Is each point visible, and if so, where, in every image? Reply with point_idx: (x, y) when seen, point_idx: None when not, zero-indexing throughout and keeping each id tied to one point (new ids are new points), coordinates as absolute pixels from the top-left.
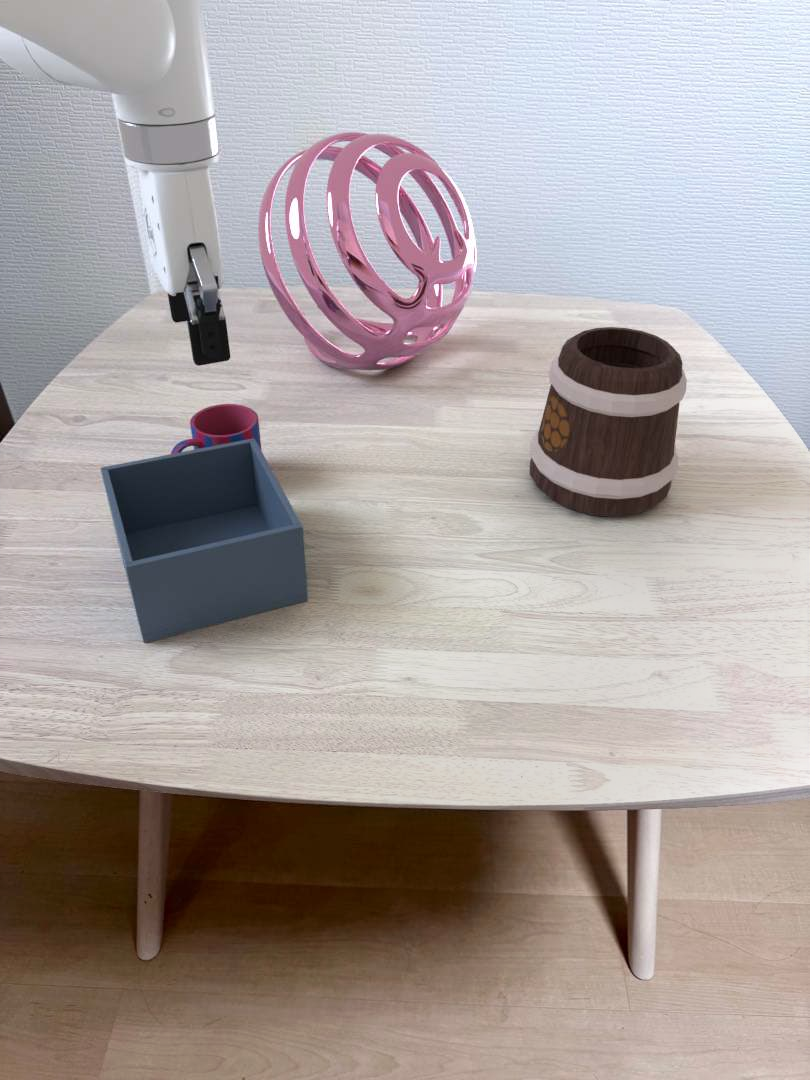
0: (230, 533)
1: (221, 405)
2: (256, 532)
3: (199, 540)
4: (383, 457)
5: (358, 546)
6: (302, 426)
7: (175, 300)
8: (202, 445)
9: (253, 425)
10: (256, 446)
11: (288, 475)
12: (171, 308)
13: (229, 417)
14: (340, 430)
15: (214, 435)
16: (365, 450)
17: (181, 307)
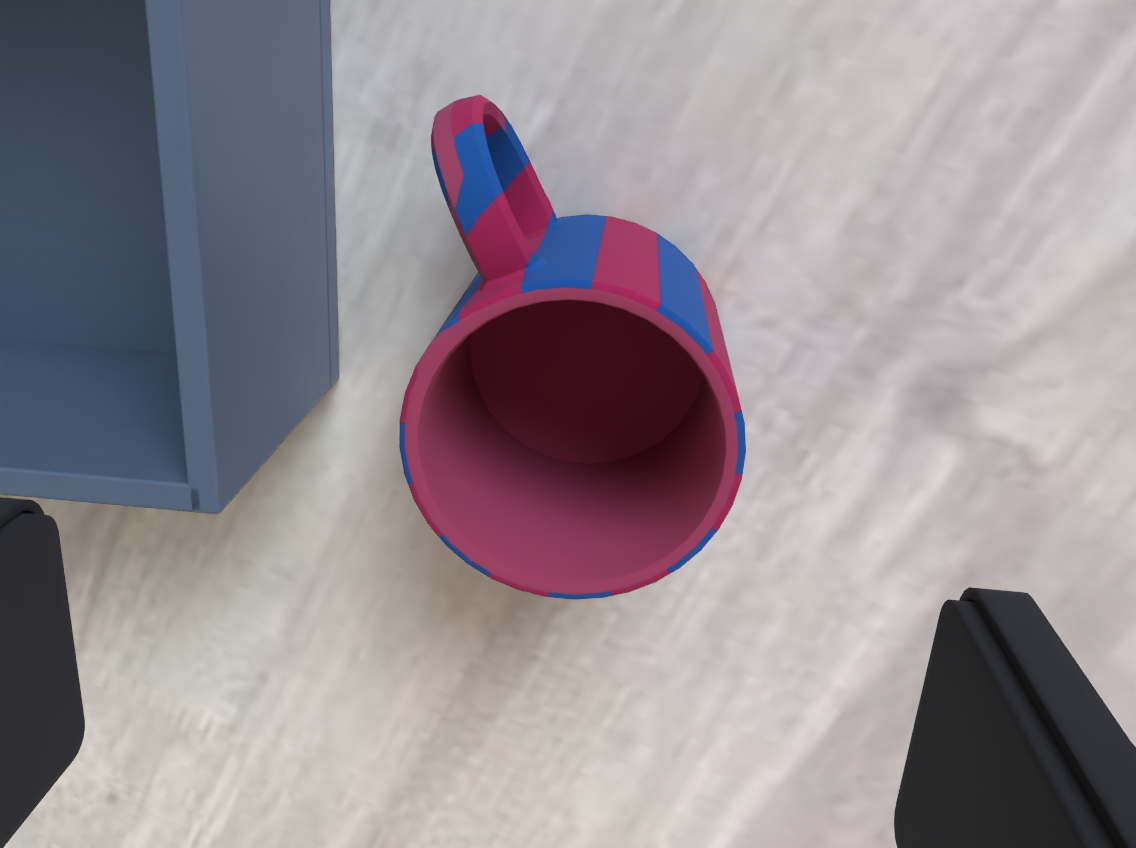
0: (159, 216)
1: (723, 483)
2: (138, 305)
3: (149, 90)
4: (485, 827)
5: None
6: (819, 696)
7: (1010, 771)
8: (481, 285)
9: (456, 549)
10: (138, 497)
11: None
12: (1016, 664)
13: (704, 481)
14: (720, 790)
15: (437, 360)
16: (552, 801)
17: (968, 753)
